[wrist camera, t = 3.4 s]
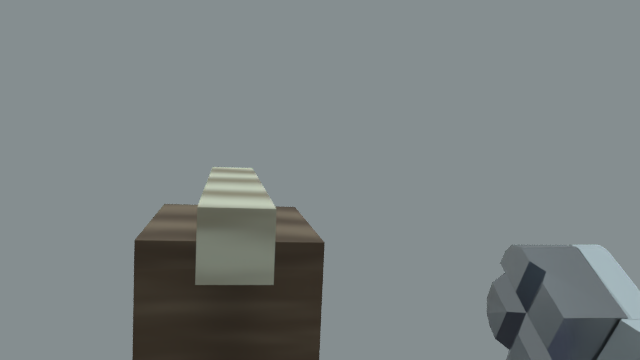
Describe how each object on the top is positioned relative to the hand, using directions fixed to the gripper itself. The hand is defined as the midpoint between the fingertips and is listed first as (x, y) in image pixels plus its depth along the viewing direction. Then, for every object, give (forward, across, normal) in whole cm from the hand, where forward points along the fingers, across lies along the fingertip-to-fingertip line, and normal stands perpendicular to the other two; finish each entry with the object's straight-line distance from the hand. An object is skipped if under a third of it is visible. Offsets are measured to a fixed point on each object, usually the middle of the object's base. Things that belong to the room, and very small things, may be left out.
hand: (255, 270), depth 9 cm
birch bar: (+19, 0, -15) cm, 24 cm away
